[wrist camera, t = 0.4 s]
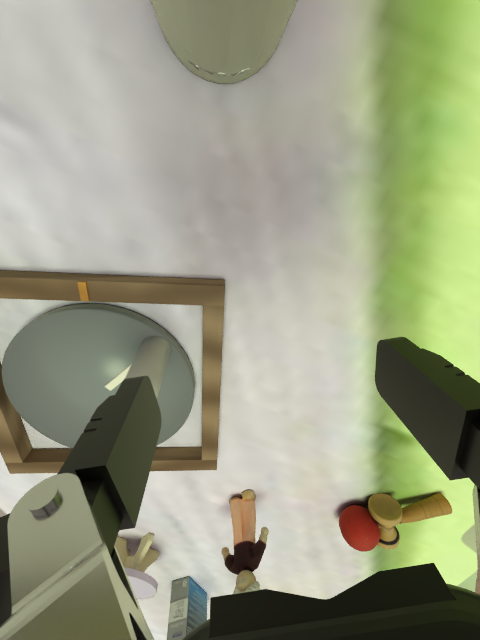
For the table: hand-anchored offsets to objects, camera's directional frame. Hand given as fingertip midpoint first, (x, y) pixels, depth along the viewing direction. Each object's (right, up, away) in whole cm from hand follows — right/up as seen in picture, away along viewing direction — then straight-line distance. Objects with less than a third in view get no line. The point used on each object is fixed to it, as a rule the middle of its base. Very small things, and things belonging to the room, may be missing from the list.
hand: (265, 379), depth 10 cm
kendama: (+24, -29, +38) cm, 53 cm away
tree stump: (-19, -36, +38) cm, 56 cm away
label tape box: (-11, -51, +46) cm, 70 cm away
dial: (-16, -5, +23) cm, 28 cm away
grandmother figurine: (-1, -26, +34) cm, 43 cm away
